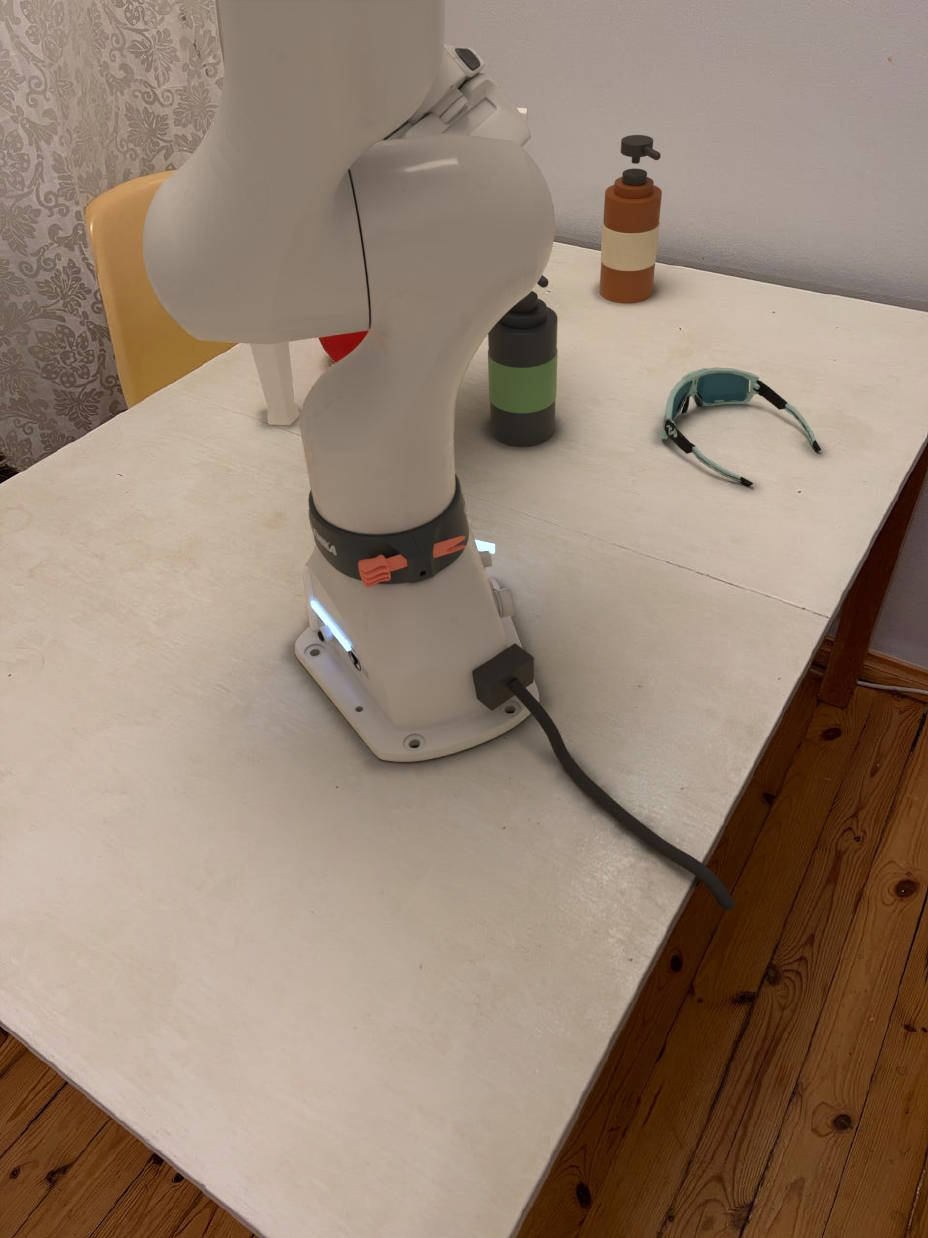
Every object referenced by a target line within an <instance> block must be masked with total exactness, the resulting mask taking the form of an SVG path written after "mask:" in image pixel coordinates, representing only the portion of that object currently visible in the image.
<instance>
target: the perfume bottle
mask: <svg viewBox="0 0 928 1238" xmlns="http://www.w3.org/2000/svg"><path fill="white" fill-rule="evenodd" d="M249 345H250V349H251V352H252V356H253V359H254V364H255V367H256V370H257V375H258V378H259V381H260V384H261V388H262V392H263V396H264V399H265V403H266V406H267V407H266V418H267V424H268V425H270V426H290V425H292V424H293V423H294V422H295V421H296V420H297V419H298V418H300V413H301V411H300V410H299V408H298V406H297V404H296V402H295V392H294V384H293V383H294V382H293V372H292V371H293V370H292V363H291V352H290V342H284V343H277V344H249Z"/></svg>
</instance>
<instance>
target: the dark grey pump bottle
mask: <svg viewBox="0 0 928 1238" xmlns="http://www.w3.org/2000/svg"><path fill="white" fill-rule="evenodd" d="M538 297H539V295H538V294H537V292H535V291H533V290H532V291H531V292H530V293H529V294H528V295H527V296H526V297H524V298H523V299H522V300H520V301H519V302H518V303H517V304H516V305H514V306H513V307H512V308H511V309H510V310H509V311H508V312H507V313H506V314H505V315H504V316H503V317H502V318H501V319H500V320H499V321H498V322H497V323H496V324H495V326H494V327H493V328H492V329H491V331H490V332H489V333H488V335H487V343H488V344H487V345H488V346H487V347H488V349H487V371H488V372H487V374H488V399H489V416H490V417H489V419H490V434H491V435H492V437H493V438H494V439H495V440H496V441H498V442H499V443H501V444H503V445H506V446H511V447H515V448H528V447H535V446H539V445H541V444H543V443H545V442H547V441H548V440H550V439H551V438H552V437H553V436H554V433H555V431H556V399H557V385H558V314H557V313H556V311H554V310H553V309H552V308H550V307H549V306H547V303H546V302H545V301H544V300H542V299H540V298H538Z"/></svg>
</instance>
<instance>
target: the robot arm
mask: <svg viewBox="0 0 928 1238" xmlns="http://www.w3.org/2000/svg"><path fill="white" fill-rule="evenodd" d="M218 7H219V13H220V14H219V15H220V21H221V23H220V24H221V34H222V43H223V59H224V61H223V62H224V63H223V65H224V66H223V81H222V89H221V93H220V98H219V101H218V105H217V107H216V110H215V113H214V116H213V118H212V121H211V123H210V125H209V128H208V129H207V131H206V133H205V134H204V137H203V138H202V140H201V142H200V143H199V144H198V145H197V147H196V149H195V150H194V151H193V153H192V154H191V155H190V156H189V157H188V159H187V160H186V161H185V162H184V163H183V164H182V165H181V166H180V167H179V168H178V169H177V170H175V171H174V173H172V174H171V175H170V176H168V177H167V178H165V180H163V182H162V183H161V184H160V186H159V187H158V188H157V190H156V191H155V193H154V196H153V197H152V200H151V201H150V204H149V207H148V209H147V212H146V215H145V219H144V223H143V224H144V225H143V230H142V255H143V263H144V268H145V271H146V275H147V279H148V281H149V284H150V286H151V289H152V291H153V293H154V295H155V297H156V299H157V300H158V302H159V304H160V305H161V306H162V308H163V310H164V311H165V312H166V313H167V314H168V316H169V317H170V319H172V321H174V323H175V324H176V325H177V326H179V327H180V329H182V330H183V331H184V332H185V333H187V334H188V335H189V336H191V337H193V339H195V340H197V341H200V342H201V341H202V342H215V343H216V342H217V343H227V344H228V343H231V344H245V345H247V344H248V345H250V344H277V343H284V342H289V343H290V342H296V341H306V340H311V339H317V338H318V339H319V337H326V336H333V335H340V334H347V333H354V332H361V331H367V330H368V331H369V332H368V333H367V335H366V336H365V338H364V339H363V340H362V342H361V343H360V344H359V345H358V346H357V347H356V348H355V349H354V350H353V351H352V352H351V353H349V354H348V355H347V356H345V357H344V358H342V359H341V360H339V361H338V362H337V363H336V362H335V363H333V364H332V365H330V366H329V367H328V368H327V369H326V370H324V372H322V373H321V374H320V376H319V377H318V378H317V379H316V380H315V382H314V383H313V385H312V386H311V388H310V389H309V391H308V393H307V394H306V396H305V398H304V400H303V403H302V406H301V409H300V416H299V424H298V425H299V431H300V437H301V443H302V448H303V453H304V458H305V464H306V469H307V474H308V480H309V486H310V490H309V493H308V521H309V524H310V529H311V531H312V535H313V539H314V543H315V545H314V548H313V550H312V552H311V554H310V556H309V558H308V560H307V561H306V563H305V564H304V567H303V569H302V570H301V575H302V582H303V590H304V597H305V604H306V610H307V615H308V616H307V617H308V624H309V626H308V627H307V628H306V629H305V630H304V631H303V632H301V634H300V635H299V636H298V637H297V639H296V640H295V643H294V654H295V656H296V659H298V661H299V662H300V663H301V665H302V666H303V667H304V668H305V670H306V671H307V672H308V674H309V675H310V676H311V677H312V678H313V680H314V681H315V683H316V684H317V685H318V686H319V687H320V688H321V690H322V691H323V692H324V693H325V694H326V696H327V698H328V699H329V700H330V701H331V702H332V703H333V705H334V706H335V707H336V708H337V709H338V711H339V712H340V713H341V715H342V716H343V717H344V718H345V720H346V721H347V722H348V724H349V725H350V726H351V727H352V728H353V729H354V731H355V733H357V735H358V737H360V738H361V740H362V741H363V742H364V743H365V744H366V746H367V747H368V748H369V750H370V751H371V752H372V753H373V754H374V755H375V756H376V757H377V758H378V759H380V760H381V761H385V762H386V761H387V762H399V763H404V762H405V763H408V762H409V763H410V762H420V761H427V760H432V759H439V758H442V757H445V756H449V755H454V754H456V753H459V752H462V751H465V750H468V749H471V748H474V747H476V746H479V745H480V744H483V743H486V742H489V741H491V740H493V739H495V738H497V737H499V736H502V735H503V734H504V733H507V732H509V731H510V730H512V729H513V728H515V727H517V726H518V725H519V724H521V723H522V722H523V721H524V720H525V719H527V718H528V717H529V716H530V715H532V717H533V718H534V719H535V720H536V722H537V723H538V724H539V726H540V727H541V729H542V730H543V732H544V733H545V735H546V737H547V739H548V741H549V744H550V746H551V749H552V751H553V752H554V756H555V757H556V758H557V760H558V762H559V763H560V765H561V766H562V767H563V769H564V771H566V773H567V774H568V775H569V776H570V778H571V779H572V780H573V781H574V782H575V784H576V785H578V787H580V788H581V789H582V790H583V791H584V792H585V793H586V794H587V795H588V796H589V797H590V798H591V799H592V800H593V801H595V803H597V804H598V806H600V807H601V808H602V809H603V810H605V811H606V812H607V813H608V814H609V815H610V816H611V817H613V818H614V820H616V821H617V822H618V823H619V824H621V825H622V826H623V827H625V828H626V829H627V830H628V831H629V832H631V833H633V835H635V836H636V837H637V838H638V839H639V840H641V841H642V842H643V843H644V844H646V845H647V846H649V848H651V849H652V850H654V851H655V852H657V854H659V855H661V856H662V857H664V858H666V859H668V860H669V861H671V862H673V863H674V864H676V865H677V866H679V867H681V868H682V869H685V870H686V871H687V872H689V873H691V874H692V875H693V876H694V877H696V878H697V879H698V880H699V881H700V882H702V883H703V884H704V885H705V887H706V888H707V889H708V890H709V892H710V893H711V894H712V896H713V897H714V898H715V901H716V903H717V904H718V905H719V906H720V907H721V908H722V909H723V910H725V911H726V910H727V911H732V910H734V908H735V902H734V900H733V898H732V896H731V894H730V892H729V891H728V889H727V888H726V886H725V885H724V883H723V882H722V881H721V879H719V877H718V876H717V875H716V874H715V873H714V872H713V871H712V870H711V869H710V868H709V867H707V866H706V865H705V864H704V863H703V862H702V861H699V860H698V859H697V858H695V857H694V856H692V855H690V854H688V853H687V852H685V851H683V850H682V849H680V848H678V847H676V846H675V845H673V844H671V843H669V842H668V841H667V840H665V839H664V838H662V837H661V836H660V835H658V834H657V833H656V832H654V831H653V830H652V829H651V828H650V827H648V826H647V825H645V824H644V823H643V822H641V820H639V819H638V818H636V817H635V816H634V815H633V814H631V813H630V812H628V811H627V809H625V808H624V807H623V806H622V805H620V804H619V803H618V802H617V801H616V800H614V798H613V797H612V796H610V795H609V794H608V793H607V792H606V791H605V790H603V789H602V788H601V787H600V786H599V785H598V784H597V783H596V782H595V781H594V780H593V779H591V777H589V776H588V775H587V773H586V772H585V771H584V770H583V769H582V768H581V767H580V765H579V764H578V763H577V762H576V761H575V759H574V758H573V756H572V754H571V753H570V752H569V750H568V748H567V746H566V744H565V742H564V739H563V738H562V735H561V733H560V730H559V729H558V727H557V725H556V723H555V722H554V720H553V718H552V717H551V716H550V715H549V713H548V712H547V711H546V710H545V708H544V707H543V706H542V705H541V703H540V694H539V690H538V687H537V683H536V681H535V678H534V677H535V657H534V656H533V655H532V654H531V653H529V652H528V651H526V650H525V649H524V648H523V645H522V643H521V641H520V638H519V635H518V633H517V630H516V626H515V624H514V621H513V618H512V617H513V616H515V614H516V606H515V600H514V597H513V593H512V591H511V589H510V588H507V587H506V588H501V587H500V584H499V583H498V581H497V580H495V579H493V578H491V577H488V575H487V572H486V570H485V569H487V568H491V567H492V565H493V560H492V554H495V553H496V543H491V542H487V541H483V540H479V539H475V535H474V533H473V521H472V519H471V518H468V513H467V512H468V511H467V505H466V500H465V497H464V493H463V491H462V487H461V483H460V480H459V477H458V476H457V473H456V467H455V466H456V465H455V429H456V428H455V425H456V409H457V401H458V396H459V393H460V389H461V386H462V383H463V380H464V378H465V375H466V373H467V371H468V368H469V366H470V364H471V362H472V360H473V358H474V357H475V354H476V353H477V351H478V350H479V348H480V346H481V345H482V343H483V342H484V340H485V339H486V337H488V333H489V332H490V331H491V329H492V328H493V327H494V326H495V324H496V323H497V322H498V321H499V320H500V319H501V318H502V317H503V316H504V315H505V314H506V313H507V312H508V311H509V310H510V309H511V308H512V307H513V306H514V305H516V304H517V303H518V302H519V301H520V300H522V299H523V298H524V297H526V296H527V295H528V294H529V293H530V292H531V291H533V290H534V289H535V287H536V286H537V285H538V284H537V283H538V281H539V279H540V278H541V276H542V275H544V273H545V270H546V268H547V266H548V263H549V260H550V257H551V254H552V250H553V245H554V239H555V231H556V230H555V229H556V219H555V209H554V203H553V197H552V194H551V191H550V188H549V186H548V183H547V180H546V178H545V176H544V174H543V172H542V170H541V169H540V167H539V166H538V164H537V163H536V161H535V160H534V159H533V158H532V156H531V155H530V154H529V152H527V150H525V149H524V148H523V147H524V146H525V145H526V144H527V143H528V142H529V140H531V137H532V135H531V131H530V128H529V125H528V122H527V123H526V121H525V119H524V118H523V116H522V115H521V113H520V112H519V111H518V109H517V108H518V107H516V105H515V104H514V102H513V101H512V99H510V97H509V96H508V94H507V93H506V92H505V91H504V90H503V88H502V87H501V86H500V84H499V83H498V82H497V81H496V80H495V79H494V78H493V77H492V76H490V75H489V74H488V73H485V72H482V70H483V69H484V68H485V61H484V60H483V58H482V57H481V56H480V54H479V53H478V52H477V51H476V50H475V49H474V48H473V47H469V46H457V45H456V46H455V45H451V44H448V43H446V42H445V24H446V23H445V21H446V19H445V18H446V17H445V16H446V0H218ZM509 712H510V713H509ZM415 746H418V747H415Z"/></svg>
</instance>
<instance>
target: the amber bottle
mask: <svg viewBox="0 0 928 1238" xmlns="http://www.w3.org/2000/svg"><path fill="white" fill-rule="evenodd" d="M613 183H614V184H612V185H610V186H608V187H607V188H606V189H605V191H604V204H603V221H602V227H601V229H602V230H601V248H600V272H599V273H600V274H599V275H600V276H599V295H600V296H601V297H602V298H603V299H604V300H606V301H609V302H613V303H618V304H637V303H641V302H644V301H646V300H648V299H650V298H651V296H652V295H653V292H654V291H653V290H654V280H655V279H654V278H655V270H656V269H655V268H656V262H657V254H658V246H659V245H658V244H659V233H660V224H661V223H660V217H661V206H662V196H663V191H662V189H661V188H660V187H659V186H658V185H655V182H654V180H653V179H652V178H651V177H649V176H648V171H646V170H645V169H642V168H627V169H625V170H623V171H622V174H621V176H620V177H618V178H616V179H615V180H614V182H613Z"/></svg>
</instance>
